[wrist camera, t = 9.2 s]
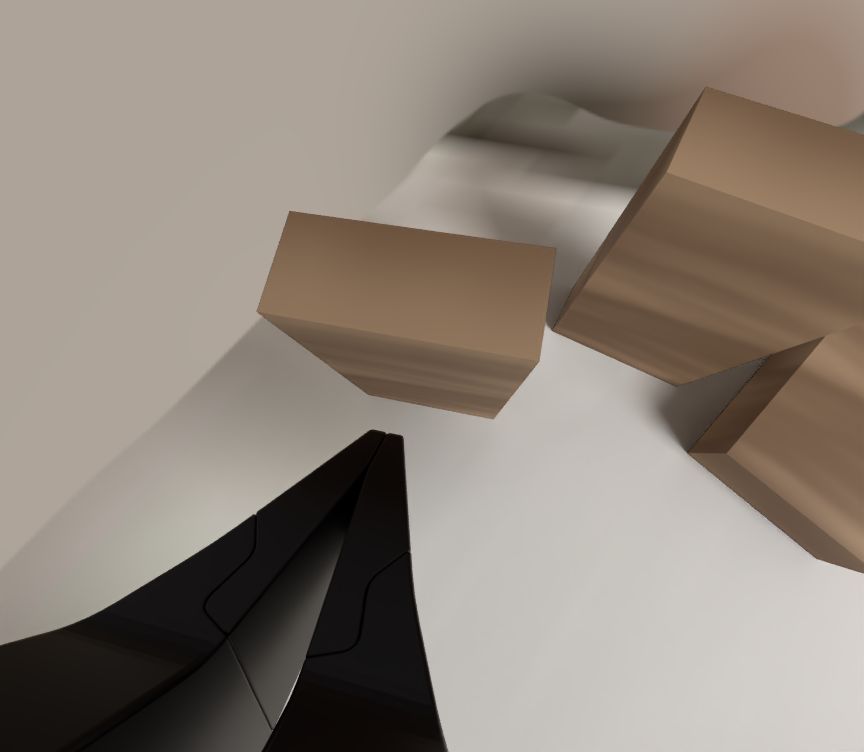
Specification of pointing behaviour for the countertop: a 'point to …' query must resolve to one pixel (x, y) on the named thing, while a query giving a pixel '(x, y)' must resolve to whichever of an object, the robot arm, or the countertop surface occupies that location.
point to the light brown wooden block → (729, 245)
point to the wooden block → (800, 445)
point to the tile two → (412, 309)
